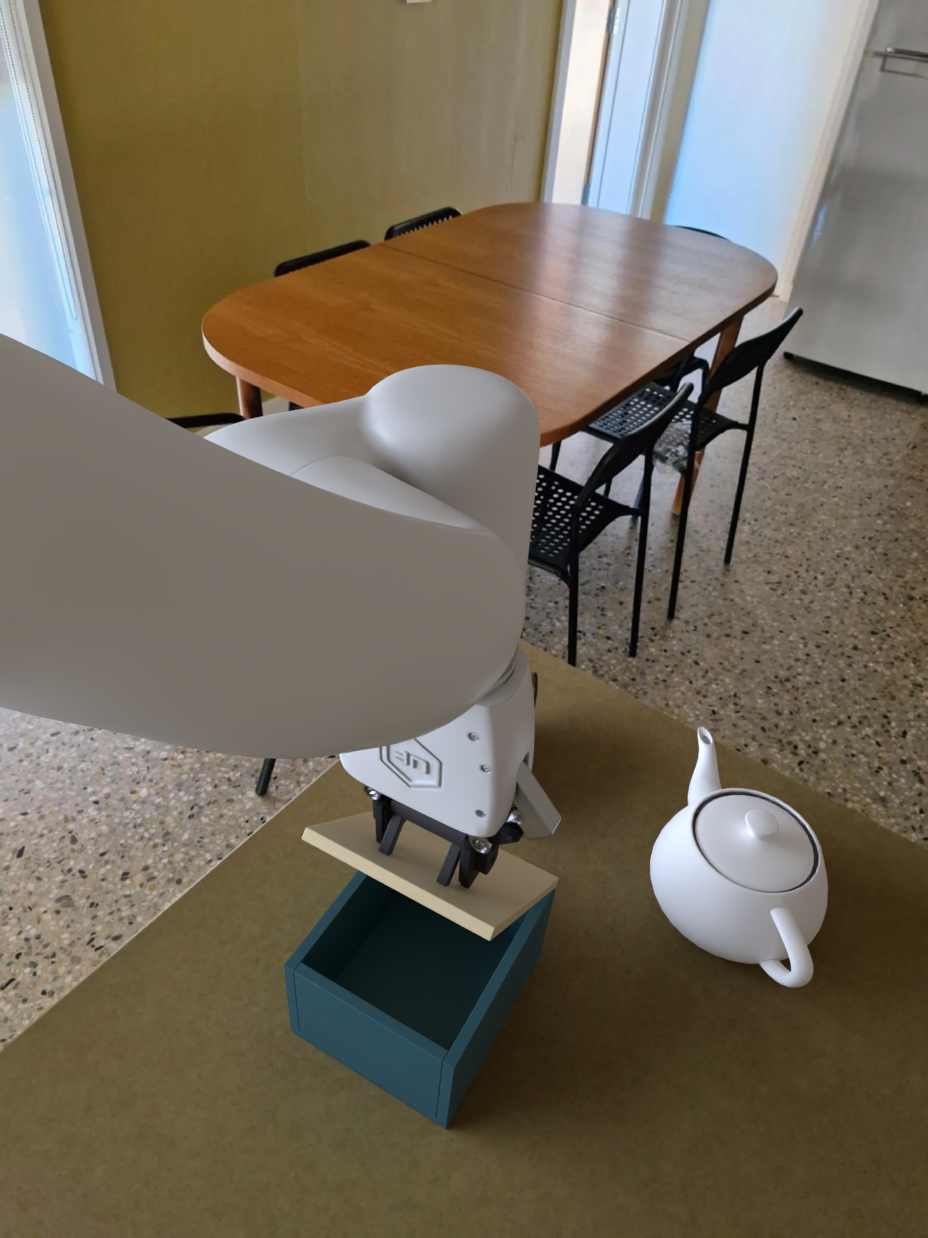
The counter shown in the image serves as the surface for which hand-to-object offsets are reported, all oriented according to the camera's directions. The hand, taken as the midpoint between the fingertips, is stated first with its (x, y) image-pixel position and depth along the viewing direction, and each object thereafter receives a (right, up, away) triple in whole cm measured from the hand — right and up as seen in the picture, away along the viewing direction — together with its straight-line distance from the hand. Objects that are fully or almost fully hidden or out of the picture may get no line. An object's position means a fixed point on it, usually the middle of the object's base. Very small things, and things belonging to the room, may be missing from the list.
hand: (434, 846), depth 54 cm
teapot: (+23, -9, +19) cm, 31 cm away
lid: (0, -2, +3) cm, 3 cm away
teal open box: (-1, -13, +11) cm, 17 cm away
